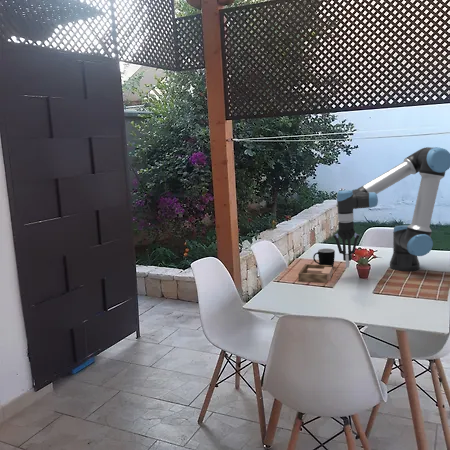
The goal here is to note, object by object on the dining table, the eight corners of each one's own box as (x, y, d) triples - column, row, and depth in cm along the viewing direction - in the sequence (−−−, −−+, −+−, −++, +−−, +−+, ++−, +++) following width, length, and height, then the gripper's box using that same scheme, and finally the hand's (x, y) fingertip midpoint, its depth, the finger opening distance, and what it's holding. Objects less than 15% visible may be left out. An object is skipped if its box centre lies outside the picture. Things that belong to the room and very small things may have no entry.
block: (332, 274, 247) (332, 267, 246) (329, 281, 236) (329, 273, 235) (309, 273, 251) (309, 266, 251) (305, 279, 240) (305, 272, 240)
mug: (336, 266, 261) (336, 249, 259) (332, 270, 254) (332, 252, 252) (316, 264, 267) (315, 247, 265) (311, 268, 259) (310, 251, 258)
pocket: (331, 272, 250) (331, 265, 250) (326, 282, 233) (326, 275, 233) (305, 271, 255) (305, 264, 255) (298, 281, 238) (298, 273, 238)
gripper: (359, 219, 235) (361, 264, 239) (333, 220, 239) (335, 264, 244) (358, 222, 228) (360, 269, 232) (331, 223, 233) (333, 268, 237)
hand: (347, 266), depth 238 cm, fingers closed
